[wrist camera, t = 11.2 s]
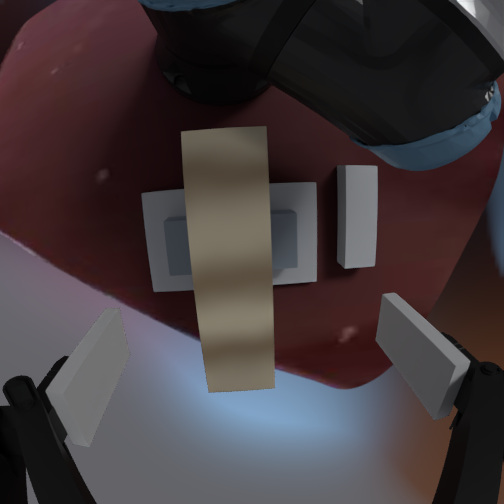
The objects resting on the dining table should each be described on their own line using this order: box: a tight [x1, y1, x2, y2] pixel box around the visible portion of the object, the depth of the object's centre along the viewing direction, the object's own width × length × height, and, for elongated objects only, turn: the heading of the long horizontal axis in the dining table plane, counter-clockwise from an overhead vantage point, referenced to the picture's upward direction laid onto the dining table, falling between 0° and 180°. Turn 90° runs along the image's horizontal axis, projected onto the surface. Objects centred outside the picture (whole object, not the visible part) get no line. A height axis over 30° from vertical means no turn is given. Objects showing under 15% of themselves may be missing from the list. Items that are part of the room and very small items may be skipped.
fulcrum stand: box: [141, 182, 317, 292], centre depth 33 cm, size 12×20×8 cm, turn 93°
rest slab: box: [337, 165, 378, 269], centre depth 36 cm, size 12×4×3 cm, turn 3°
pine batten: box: [181, 126, 275, 392], centre depth 27 cm, size 22×6×6 cm, turn 3°
